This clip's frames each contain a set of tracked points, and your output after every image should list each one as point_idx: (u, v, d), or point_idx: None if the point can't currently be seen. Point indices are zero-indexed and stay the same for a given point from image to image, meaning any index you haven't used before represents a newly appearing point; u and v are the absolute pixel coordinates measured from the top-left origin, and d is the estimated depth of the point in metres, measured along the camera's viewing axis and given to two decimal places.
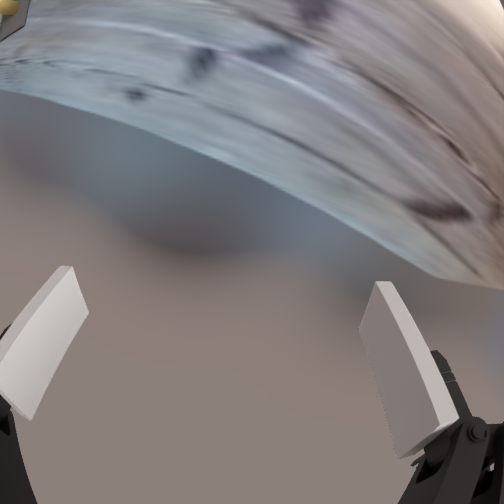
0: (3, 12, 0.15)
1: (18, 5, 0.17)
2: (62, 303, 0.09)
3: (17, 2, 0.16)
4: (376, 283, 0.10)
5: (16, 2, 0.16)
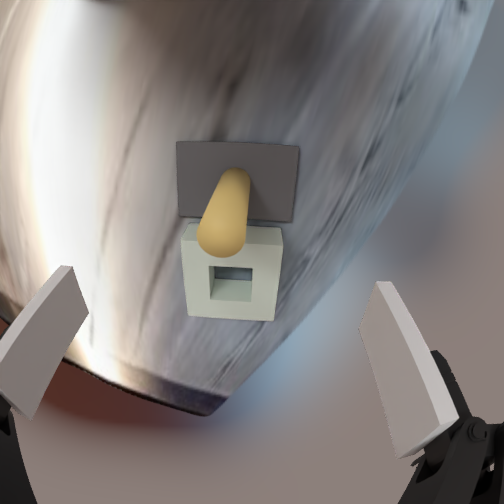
0: (249, 190, 0.24)
1: (237, 168, 0.26)
2: (62, 303, 0.09)
3: (229, 170, 0.26)
4: (375, 283, 0.10)
5: (229, 170, 0.25)
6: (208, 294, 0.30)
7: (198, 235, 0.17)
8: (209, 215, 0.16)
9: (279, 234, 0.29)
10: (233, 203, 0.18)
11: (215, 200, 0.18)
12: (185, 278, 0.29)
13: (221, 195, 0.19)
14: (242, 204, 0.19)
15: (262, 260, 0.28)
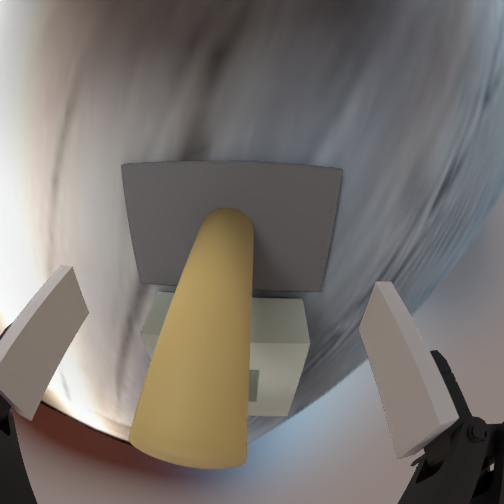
0: (252, 262, 0.13)
1: (229, 211, 0.15)
2: (62, 303, 0.09)
3: (214, 216, 0.14)
4: (375, 283, 0.10)
5: (214, 217, 0.14)
6: None
7: (135, 444, 0.05)
8: (148, 431, 0.05)
9: (301, 314, 0.17)
10: (213, 363, 0.07)
11: (169, 344, 0.07)
12: None
13: (185, 324, 0.08)
14: (237, 347, 0.07)
15: (274, 361, 0.16)
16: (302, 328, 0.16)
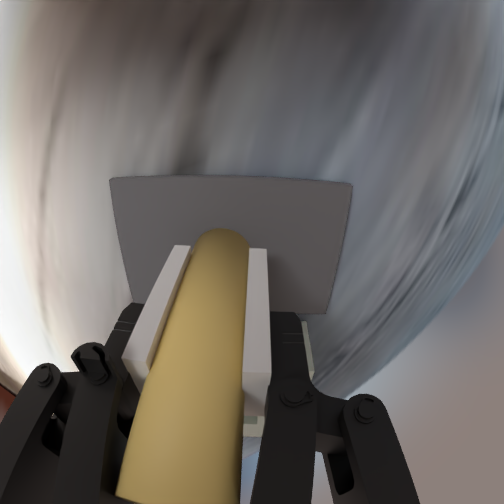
0: None
1: (224, 232, 0.13)
2: None
3: (207, 238, 0.13)
4: (249, 249, 0.12)
5: (207, 240, 0.13)
6: None
7: (123, 498, 0.04)
8: (132, 498, 0.03)
9: (305, 339, 0.16)
10: (202, 426, 0.05)
11: (153, 401, 0.06)
12: None
13: (170, 377, 0.06)
14: (229, 404, 0.06)
15: None
16: (306, 354, 0.15)
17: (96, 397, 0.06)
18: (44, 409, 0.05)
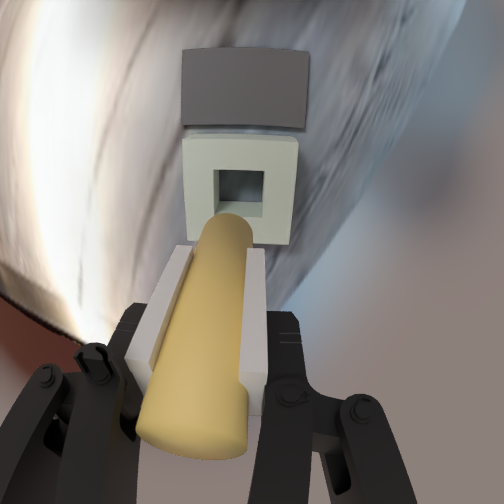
0: None
1: (230, 216, 0.15)
2: None
3: (215, 220, 0.15)
4: (247, 249, 0.12)
5: (216, 222, 0.15)
6: (212, 208, 0.25)
7: (141, 435, 0.06)
8: (155, 420, 0.05)
9: (292, 138, 0.24)
10: (216, 357, 0.07)
11: (175, 340, 0.08)
12: (185, 188, 0.24)
13: (190, 321, 0.08)
14: (238, 343, 0.08)
15: (275, 160, 0.23)
16: (293, 140, 0.23)
17: (99, 398, 0.06)
18: (46, 410, 0.05)
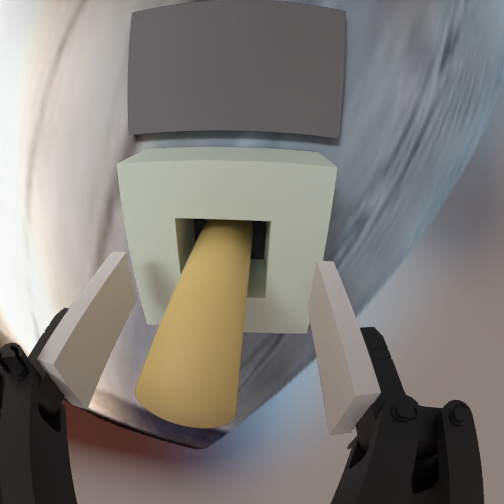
0: (250, 252, 0.14)
1: None
2: (117, 288, 0.11)
3: None
4: (316, 262, 0.12)
5: None
6: None
7: (140, 398, 0.07)
8: (152, 378, 0.06)
9: (320, 156, 0.13)
10: (211, 326, 0.08)
11: (175, 312, 0.09)
12: (132, 249, 0.14)
13: (188, 296, 0.09)
14: (232, 317, 0.09)
15: (291, 202, 0.12)
16: (324, 161, 0.12)
17: (19, 391, 0.05)
18: None
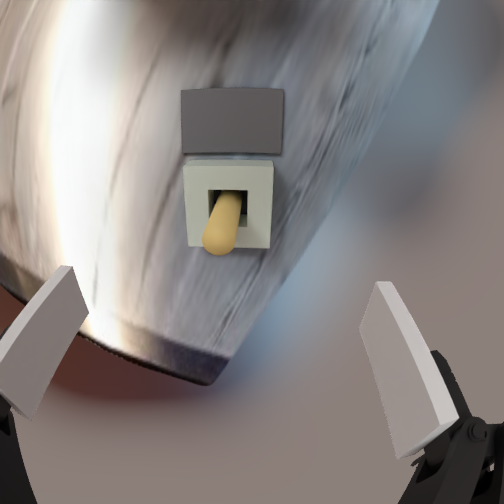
0: (240, 205, 0.32)
1: None
2: (62, 303, 0.09)
3: (225, 190, 0.34)
4: (375, 283, 0.10)
5: (225, 190, 0.33)
6: (207, 220, 0.32)
7: (203, 240, 0.25)
8: (210, 226, 0.24)
9: (270, 162, 0.31)
10: (227, 217, 0.26)
11: (214, 215, 0.26)
12: (186, 204, 0.31)
13: (218, 211, 0.27)
14: (233, 217, 0.27)
15: (255, 182, 0.30)
16: (270, 164, 0.30)
17: None
18: None
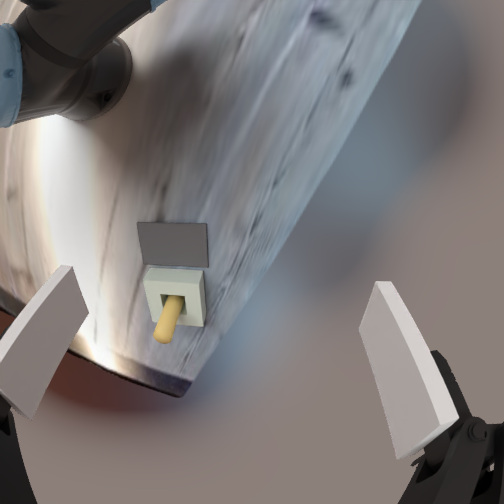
0: (182, 302, 0.48)
1: None
2: (62, 303, 0.09)
3: None
4: (375, 283, 0.10)
5: None
6: (162, 309, 0.48)
7: (154, 336, 0.41)
8: (156, 331, 0.40)
9: (199, 275, 0.47)
10: (167, 322, 0.42)
11: (160, 319, 0.42)
12: (148, 300, 0.47)
13: (163, 316, 0.43)
14: (172, 320, 0.43)
15: (188, 291, 0.46)
16: (198, 279, 0.46)
17: None
18: None
